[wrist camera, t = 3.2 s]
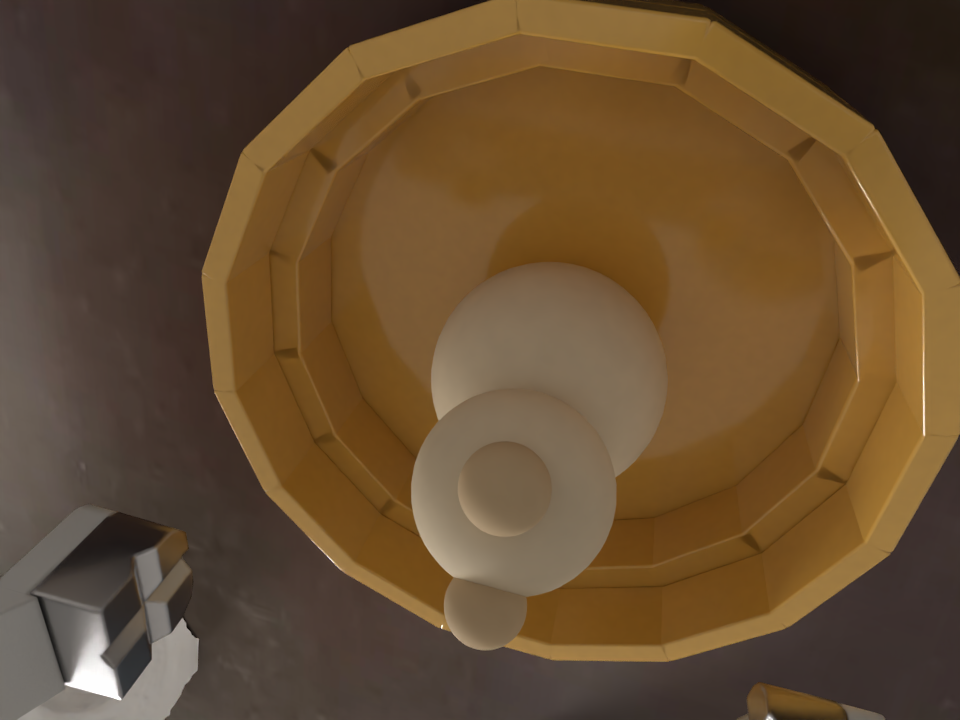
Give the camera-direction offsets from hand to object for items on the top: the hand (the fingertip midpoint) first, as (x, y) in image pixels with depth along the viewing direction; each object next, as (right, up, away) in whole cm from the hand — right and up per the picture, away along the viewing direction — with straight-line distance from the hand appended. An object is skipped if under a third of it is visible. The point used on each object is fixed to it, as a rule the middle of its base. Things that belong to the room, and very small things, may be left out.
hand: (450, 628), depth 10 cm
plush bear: (+2, +5, +8) cm, 10 cm away
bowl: (+3, +5, +9) cm, 10 cm away
